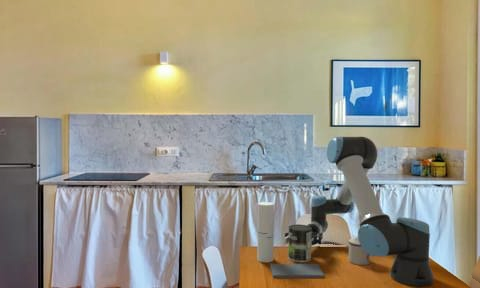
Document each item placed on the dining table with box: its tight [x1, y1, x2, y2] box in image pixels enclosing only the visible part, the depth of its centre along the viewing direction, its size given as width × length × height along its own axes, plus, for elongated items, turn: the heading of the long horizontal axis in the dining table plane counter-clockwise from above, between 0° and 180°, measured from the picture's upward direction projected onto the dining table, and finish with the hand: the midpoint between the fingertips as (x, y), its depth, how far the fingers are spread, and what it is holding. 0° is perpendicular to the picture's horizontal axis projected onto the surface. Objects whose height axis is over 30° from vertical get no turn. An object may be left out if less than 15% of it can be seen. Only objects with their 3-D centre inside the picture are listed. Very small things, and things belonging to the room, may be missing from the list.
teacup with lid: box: [348, 234, 370, 266], centre depth 163 cm, size 12×9×12 cm
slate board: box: [269, 263, 325, 279], centre depth 150 cm, size 20×12×1 cm, turn 91°
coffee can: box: [287, 224, 312, 263], centre depth 166 cm, size 10×10×14 cm
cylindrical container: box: [256, 201, 275, 263], centre depth 164 cm, size 7×7×25 cm
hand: (296, 243), depth 162 cm, fingers closed on coffee can, 10 cm apart
